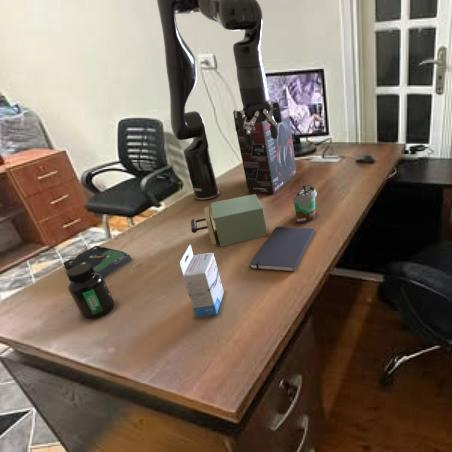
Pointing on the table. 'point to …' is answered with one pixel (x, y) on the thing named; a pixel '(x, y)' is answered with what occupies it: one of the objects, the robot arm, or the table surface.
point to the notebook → (282, 249)
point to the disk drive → (100, 260)
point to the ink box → (202, 282)
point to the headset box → (268, 156)
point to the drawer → (209, 226)
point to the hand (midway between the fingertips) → (262, 142)
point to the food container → (305, 204)
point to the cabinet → (238, 219)
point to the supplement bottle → (89, 292)
